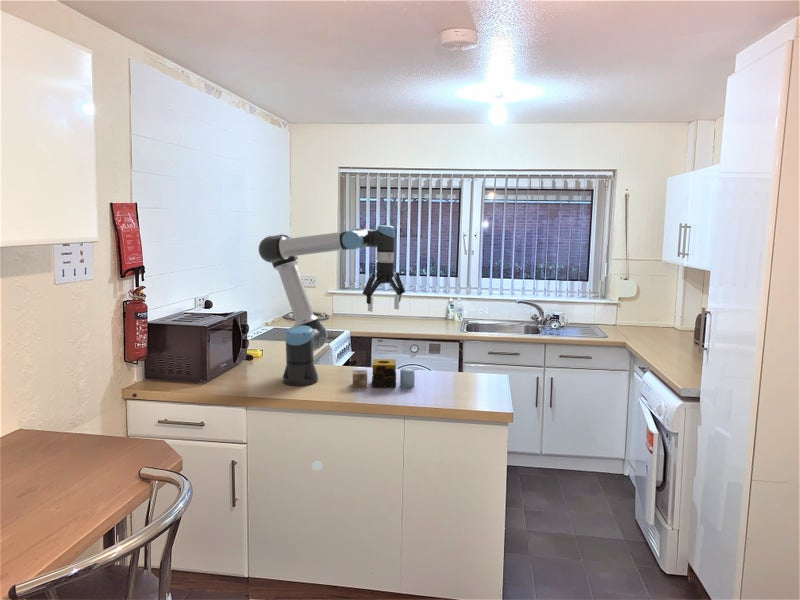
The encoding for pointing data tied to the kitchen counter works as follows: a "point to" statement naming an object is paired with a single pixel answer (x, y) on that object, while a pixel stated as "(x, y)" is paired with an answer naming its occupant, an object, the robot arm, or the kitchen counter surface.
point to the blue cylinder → (407, 378)
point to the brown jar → (359, 378)
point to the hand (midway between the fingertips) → (383, 310)
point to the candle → (384, 373)
